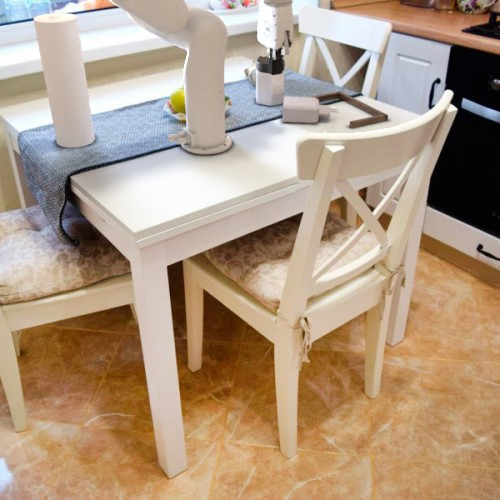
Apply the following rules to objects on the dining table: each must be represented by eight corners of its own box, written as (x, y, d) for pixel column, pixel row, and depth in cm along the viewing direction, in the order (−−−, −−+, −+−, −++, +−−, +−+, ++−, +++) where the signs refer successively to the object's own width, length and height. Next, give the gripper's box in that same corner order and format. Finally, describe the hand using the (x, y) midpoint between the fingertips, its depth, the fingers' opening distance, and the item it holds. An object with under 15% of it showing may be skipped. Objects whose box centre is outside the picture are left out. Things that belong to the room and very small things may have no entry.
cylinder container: (61, 150, 144) (37, 21, 127) (53, 136, 151) (29, 13, 134) (99, 143, 147) (81, 17, 131) (89, 130, 154) (70, 9, 138)
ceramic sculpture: (242, 60, 177) (244, 50, 190) (242, 89, 182) (244, 77, 194) (278, 61, 177) (277, 51, 190) (277, 90, 181) (276, 78, 194)
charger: (337, 125, 159) (282, 123, 159) (336, 113, 166) (283, 111, 167) (339, 108, 156) (282, 106, 157) (337, 96, 164) (283, 94, 164)
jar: (264, 108, 169) (265, 66, 162) (249, 99, 175) (249, 59, 168) (289, 102, 173) (291, 61, 166) (273, 94, 179) (275, 54, 172)
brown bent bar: (351, 128, 157) (352, 122, 156) (305, 102, 173) (305, 97, 173) (387, 120, 162) (388, 115, 161) (339, 95, 178) (339, 91, 178)
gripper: (248, -7, 144) (248, 68, 154) (279, 4, 133) (277, 84, 144) (274, -10, 147) (273, 63, 157) (307, 1, 136) (303, 79, 146)
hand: (275, 73), depth 150 cm, fingers closed
